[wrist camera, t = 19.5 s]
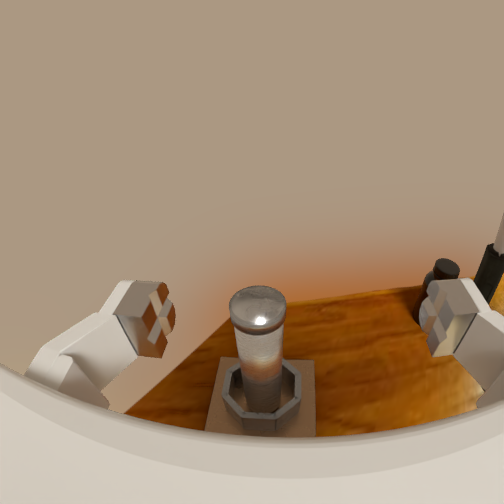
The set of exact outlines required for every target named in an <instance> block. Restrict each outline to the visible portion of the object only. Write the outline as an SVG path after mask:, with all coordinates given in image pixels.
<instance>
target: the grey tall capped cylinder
mask: <svg viewBox="0 0 504 504" xmlns="http://www.w3.org/2000/svg"><path fill="white" fill-rule="evenodd" d="M229 310H230V317H231V321H232V324H233V325H234V328H235V335H236V342H237V348H238V355H239V361H240V367H241V373H242V380H243V386H244V392H245V398H246V403H247V406H248V407H249V409H250V410H252V411H253V412H255V413H271V412H273V411H274V410H276V409H277V408H278V406H279V404H280V400H281V379H282V354H283V323H284V321H285V318H286V300H285V297H284V296H283V295H282V294H281V293H280V292H279V291H278V290H276V289H274V288H271V287H267V286H251V287H247V288H244V289H242V290H240V291H238V292H237V293H235V295H233V297H232V298H231V300H230V302H229Z"/></svg>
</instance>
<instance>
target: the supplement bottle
mask: <svg viewBox="0 0 504 504" xmlns="http://www.w3.org/2000/svg"><path fill="white" fill-rule="evenodd" d="M459 272H460V269H459V267H458V265H457V264H456V263H454V262H453V261H451V260H449V259H444V258H441V259H438V260H437V261H436V263H435V266H434V268H433V271H431V272H429V273H428V274H427V275H426V277H425V280H424V282H423V285H422V288H421V291H420V294H419V296H418V299H417V302H416V304H415V307H414V310H413V316H414V319H415V321H416V322H417V323H418V324H419V325H420V321H419V311H420V307H421V304H422V302H423V301H424V300H425V299H426V298H427V297H428V294H427V288H428V285H429V284H430V282H431V281H435V280H451V279H458V275H459ZM420 326H421V325H420Z"/></svg>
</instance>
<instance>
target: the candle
mask: <svg viewBox="0 0 504 504" xmlns="http://www.w3.org/2000/svg"><path fill="white" fill-rule="evenodd" d="M503 273H504V214H503V218H502V221H501V224H500V227H499V231H498V234H497V237H496V240H495V243H492V244H490V245H487V247H486V251H485V253H484V256H483V259H482V261H481V264H480V267H479V269H478V271H477V274H476V276H475V279H474V281H473V282H474V283H475V285H476V286H477V288H478V289H479V291H480V293H481V294H482V296H483V297H484V299H485V300H486V302H487V304H488V305H489V303H490V301H491V299H492V297H493V295H494V292H495V290H496V288H497V286H498V284H499V282H500V279H501V277H502V275H503Z"/></svg>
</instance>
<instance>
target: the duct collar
mask: <svg viewBox="0 0 504 504" xmlns="http://www.w3.org/2000/svg"><path fill="white" fill-rule="evenodd" d="M204 431H208V432H215V433H224V434H233V435H245V436H260V437H316V409H315V373H314V360H285V359H284V358H282V379H281V400H280V404H279V406H278V408H277V409H276V410H274V411H273V412H271V413H255V412H253V411H252V410H250V409H249V407H248V406H247V403H246V398H245V392H244V386H243V380H242V373H241V367H240V361H239V358H233V357H221V358H220V362H219V367H218V371H217V376H216V380H215V385H214V389H213V394H212V398H211V403H210V407H209V412H208V416H207V421H206V425H205V430H204Z"/></svg>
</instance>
